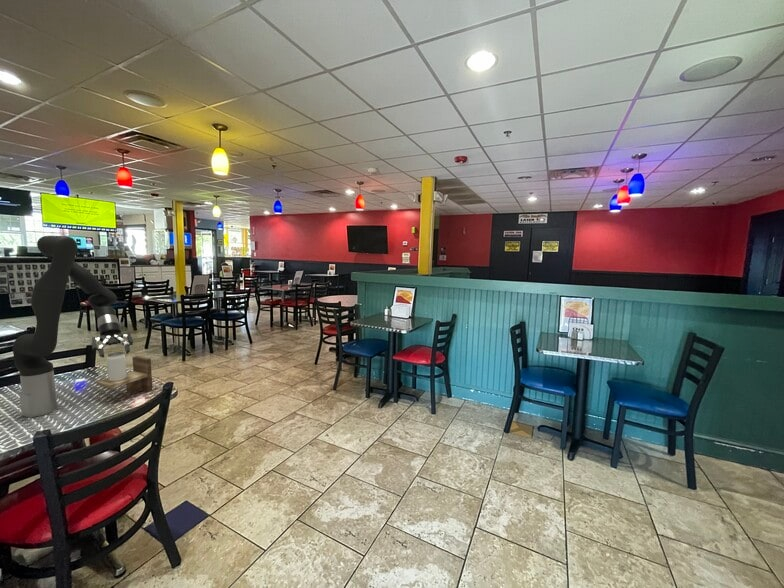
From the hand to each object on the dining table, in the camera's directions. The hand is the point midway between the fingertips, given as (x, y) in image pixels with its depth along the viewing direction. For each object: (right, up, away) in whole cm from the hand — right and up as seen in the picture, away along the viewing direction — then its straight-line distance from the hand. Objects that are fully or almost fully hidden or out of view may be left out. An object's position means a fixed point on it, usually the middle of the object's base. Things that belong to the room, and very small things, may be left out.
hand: (115, 354), depth 144 cm
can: (0, -12, +1) cm, 12 cm away
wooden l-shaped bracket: (+1, -20, +4) cm, 21 cm away
